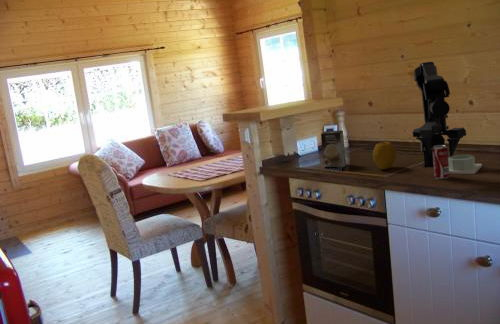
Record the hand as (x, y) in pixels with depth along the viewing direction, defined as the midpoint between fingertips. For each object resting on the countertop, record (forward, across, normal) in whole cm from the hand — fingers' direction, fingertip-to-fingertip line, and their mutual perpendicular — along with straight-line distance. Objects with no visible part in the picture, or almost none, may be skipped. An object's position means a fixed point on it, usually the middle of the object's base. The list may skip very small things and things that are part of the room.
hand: (440, 155), depth 191 cm
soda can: (+9, 0, 0) cm, 9 cm away
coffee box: (+9, -56, +2) cm, 57 cm away
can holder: (+8, 0, +12) cm, 15 cm away
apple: (+9, -30, +5) cm, 32 cm away
